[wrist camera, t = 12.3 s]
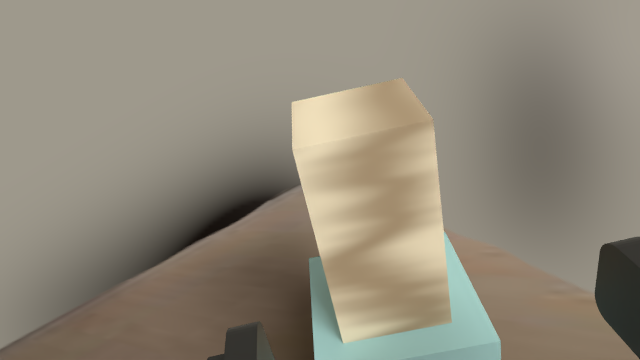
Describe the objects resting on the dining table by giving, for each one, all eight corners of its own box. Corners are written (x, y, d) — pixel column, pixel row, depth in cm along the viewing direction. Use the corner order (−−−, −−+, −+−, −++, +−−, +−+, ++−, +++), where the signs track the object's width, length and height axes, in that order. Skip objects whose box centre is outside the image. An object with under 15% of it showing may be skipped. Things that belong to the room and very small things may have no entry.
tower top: (332, 430, 22) (315, 374, 20) (321, 307, 29) (308, 258, 27) (501, 400, 21) (500, 341, 20) (449, 283, 28) (445, 231, 27)
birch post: (343, 343, 21) (292, 149, 16) (333, 271, 25) (291, 102, 21) (451, 322, 21) (433, 119, 16) (423, 253, 25) (402, 77, 20)
